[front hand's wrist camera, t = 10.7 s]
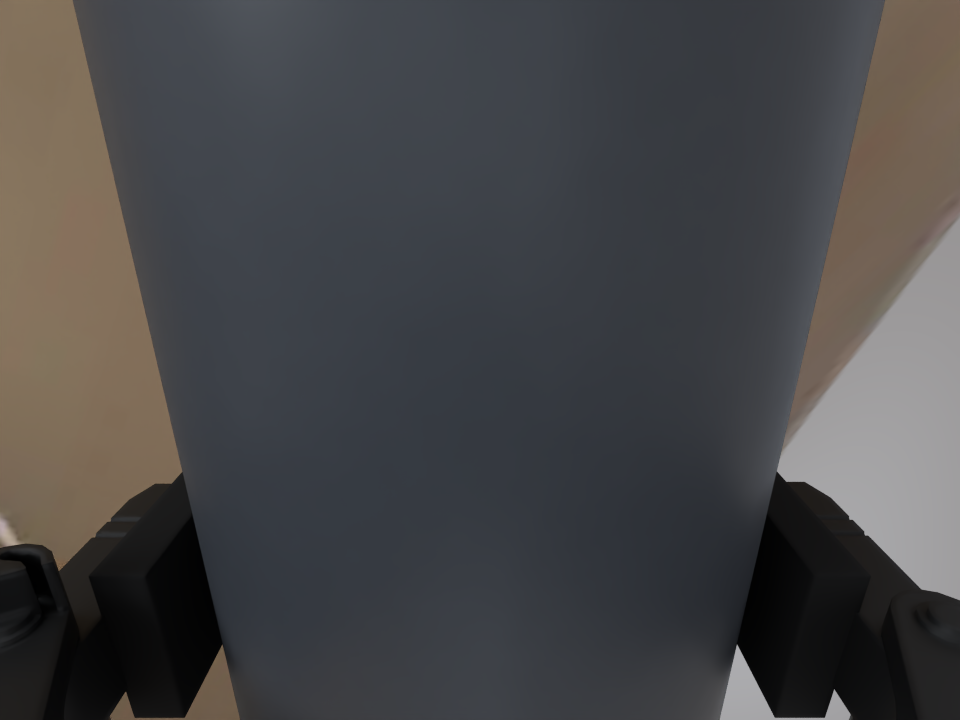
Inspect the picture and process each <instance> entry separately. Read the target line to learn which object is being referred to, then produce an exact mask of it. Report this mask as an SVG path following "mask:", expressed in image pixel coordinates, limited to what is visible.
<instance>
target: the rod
mask: <svg viewBox="0 0 960 720" xmlns="http://www.w3.org/2000/svg"><path fill="white" fill-rule="evenodd" d="M884 2H885V0H73V3H74V7H75V12H76V16H77V20H78V25H79V29H80V33H81V37H82V42H83V46H84V50H85V55H86V59H87V63H88V68H89V72H90V76H91V80H92V85H93V89H94V93H95V98H96V102H97V106H98V111H99V115H100V119H101V123H102V128H103V132H104V136H105V141H106V145H107V149H108V153H109V158H110V162H111V166H112V171H113V175H114V179H115V184H116V188H117V192H118V196H119V201H120V205H121V209H122V214H123V218H124V222H125V226H126V231H127V235H128V239H129V244H130V248H131V252H132V257H133V261H134V265H135V269H136V274H137V278H138V282H139V287H140V291H141V295H142V300H143V304H144V308H145V312H146V317H147V321H148V325H149V330H150V334H151V338H152V342H153V347H154V351H155V355H156V360H157V364H158V368H159V373H160V377H161V381H162V385H163V390H164V394H165V398H166V403H167V407H168V411H169V415H170V420H171V424H172V428H173V433H174V437H175V441H176V446H177V450H178V454H179V458H180V463H181V467H182V471H183V476H184V480H185V484H186V489H187V493H188V497H189V501H190V506H191V510H192V514H193V519H194V523H195V527H196V531H197V536H198V540H199V544H200V549H201V553H202V557H203V562H204V566H205V570H206V574H207V579H208V583H209V587H210V592H211V596H212V600H213V604H214V609H215V613H216V617H217V622H218V626H219V630H220V635H221V639H222V643H223V647H224V652H225V656H226V660H227V665H228V669H229V673H230V678H231V682H232V686H233V690H234V695H235V699H236V703H237V708H238V712H239V716H240V720H720V715H721V711H722V706H723V702H724V698H725V693H726V689H727V685H728V680H729V676H730V671H731V667H732V663H733V659H734V654H735V650H736V646H737V641H738V637H739V633H740V628H741V624H742V620H743V615H744V611H745V607H746V602H747V598H748V593H749V589H750V585H751V580H752V576H753V572H754V567H755V563H756V559H757V554H758V550H759V546H760V541H761V537H762V533H763V528H764V524H765V520H766V515H767V511H768V507H769V502H770V498H771V494H772V489H773V485H774V480H775V476H776V472H777V467H778V463H779V459H780V454H781V450H782V446H783V441H784V437H785V433H786V428H787V424H788V420H789V415H790V411H791V407H792V402H793V398H794V394H795V389H796V385H797V381H798V376H799V372H800V367H801V363H802V359H803V354H804V350H805V346H806V341H807V337H808V333H809V328H810V324H811V320H812V315H813V311H814V307H815V302H816V298H817V294H818V289H819V285H820V281H821V276H822V272H823V268H824V263H825V259H826V254H827V250H828V246H829V241H830V237H831V233H832V228H833V224H834V220H835V215H836V211H837V207H838V202H839V198H840V194H841V189H842V185H843V181H844V176H845V172H846V168H847V163H848V159H849V155H850V150H851V146H852V141H853V137H854V133H855V128H856V124H857V120H858V115H859V111H860V107H861V102H862V98H863V94H864V89H865V85H866V81H867V76H868V72H869V68H870V63H871V59H872V55H873V50H874V46H875V42H876V37H877V33H878V28H879V24H880V20H881V15H882V11H883V7H884Z"/></svg>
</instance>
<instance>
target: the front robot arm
mask: <svg viewBox="0 0 960 720" xmlns="http://www.w3.org/2000/svg"><path fill="white" fill-rule="evenodd" d="M222 644H223V643H222V639H221V635H220V630H219V626H218V622H217V617H216V613H215V609H214V604H213V600H212V596H211V592H210V587H209V583H208V579H207V574H206V570H205V566H204V562H203V557H202V553H201V549H200V544H199V540H198V536H197V531H196V527H195V523H194V519H193V514H192V510H191V506H190V501H189V497H188V493H187V489H186V484H185V480H184V476H183V472H182V473H181V474H180V475H179V476H178V477H177V478H176V480H175V481H174V482H173V483H172V484H154V485H153V486H151V487H149V488H148V489H146V490H144V491H143V492H141V493H139V494H138V495H136V496H135V497H133V498H131V499H130V500H129V501H128V502H127V503H126V504H125V505H124V506H123V507H122V508H121V509H120V510H119V511H118V512H117V513H116V514H115V515H114V516H113V517H112V518H111V522H107V523H106V524H105V525H104V526H103V527H102V528H101V529H100V530H99V531H98V532H97V533H96V537H95V538H91V539H90V540H89V541H88V542H87V543H86V544H85V545H84V546H83V547H82V548H81V549H80V550H79V552H78V553H77V554H76V555H75V556H74V557H73V558H72V559H71V560H70V561H69V562H68V563H67V564H66V565H65V566H64V567H63V568H62V569H61V570H60V571H58V568H57V565H56V562H55V559H54V557H53V554H52V551H50V550H49V549H47V548H46V547H44V546H43V545H34V544H21V545H14V546H7V547H3V548H0V720H111V719H110V715H111V713H112V712H113V710H114V709H115V707H116V705H117V704H118V702H119V701H120V699H121V698H122V696H123V695H124V693H125V692H126V693H127V696H128V699H129V702H130V705H131V708H132V711H133V714H134V717H135V718H185V716H186V714H187V712H188V710H189V708H190V706H191V704H192V702H193V700H194V699H195V697H196V695H197V693H198V691H199V689H200V687H201V685H202V683H203V681H204V679H205V677H206V675H207V673H208V671H209V669H210V667H211V665H212V663H213V661H214V659H215V658H216V656H217V654H218V652H219V650H220V648H221V646H222ZM737 645H738V647H739V649H740V650H741V652H742V654H743V656H744V658H745V660H746V662H747V664H748V666H749V668H750V670H751V672H752V674H753V676H754V678H755V680H756V682H757V684H758V686H759V688H760V689H761V691H762V693H763V695H764V697H765V699H766V701H767V703H768V705H769V707H770V709H771V711H772V713H773V715H774V717H775V718H825V715H826V712H827V709H828V706H829V703H830V700H831V697H832V694H833V691H834V689H835V691H836V692H837V694H838V695H839V697H840V698H841V700H842V701H843V703H844V705H845V706H846V708H847V709H848V711H849V712H850V714H851V716H850V719H849V720H960V600H957V599H954V598H952V597H949V596H946V595H943V594H941V593H938V592H932V591H926V590H921V589H920V588H919V587H918V586H917V585H916V584H915V583H914V582H913V581H912V580H911V579H910V578H909V577H908V576H907V575H906V574H905V573H904V572H903V570H901V568H900V567H899V566H898V565H897V564H896V563H895V562H894V561H893V560H892V559H891V558H890V557H889V556H888V555H887V554H886V553H885V552H884V551H883V550H882V549H881V548H880V547H879V546H878V545H877V544H876V543H875V542H874V541H873V540H872V539H871V538H870V537H869V536H865V535H864V531H863V530H862V529H861V528H860V527H859V526H858V525H857V524H856V523H855V522H854V521H853V520H849V516H848V515H847V514H846V513H845V512H844V511H843V510H842V509H841V508H840V507H839V506H838V505H837V504H836V503H835V502H834V501H833V500H832V499H831V498H830V497H829V496H827V495H825V494H824V493H822V492H820V491H819V490H817V489H815V488H814V487H812V486H810V485H809V484H807V483H805V482H786V481H785V480H784V479H783V478H782V477H781V476H780V474H779V473H778V472H776V476H775V480H774V485H773V489H772V494H771V498H770V502H769V507H768V511H767V515H766V520H765V524H764V528H763V533H762V537H761V541H760V546H759V550H758V554H757V559H756V563H755V567H754V572H753V576H752V580H751V585H750V589H749V593H748V598H747V602H746V607H745V611H744V615H743V620H742V624H741V628H740V633H739V637H738V641H737Z"/></svg>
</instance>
